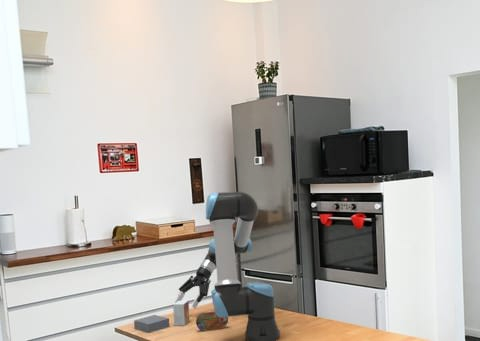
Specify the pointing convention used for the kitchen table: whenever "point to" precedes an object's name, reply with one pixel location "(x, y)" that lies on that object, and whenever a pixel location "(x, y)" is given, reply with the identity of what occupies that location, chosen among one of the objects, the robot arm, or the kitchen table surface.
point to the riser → (151, 323)
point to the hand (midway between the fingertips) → (184, 305)
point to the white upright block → (181, 313)
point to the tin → (210, 321)
